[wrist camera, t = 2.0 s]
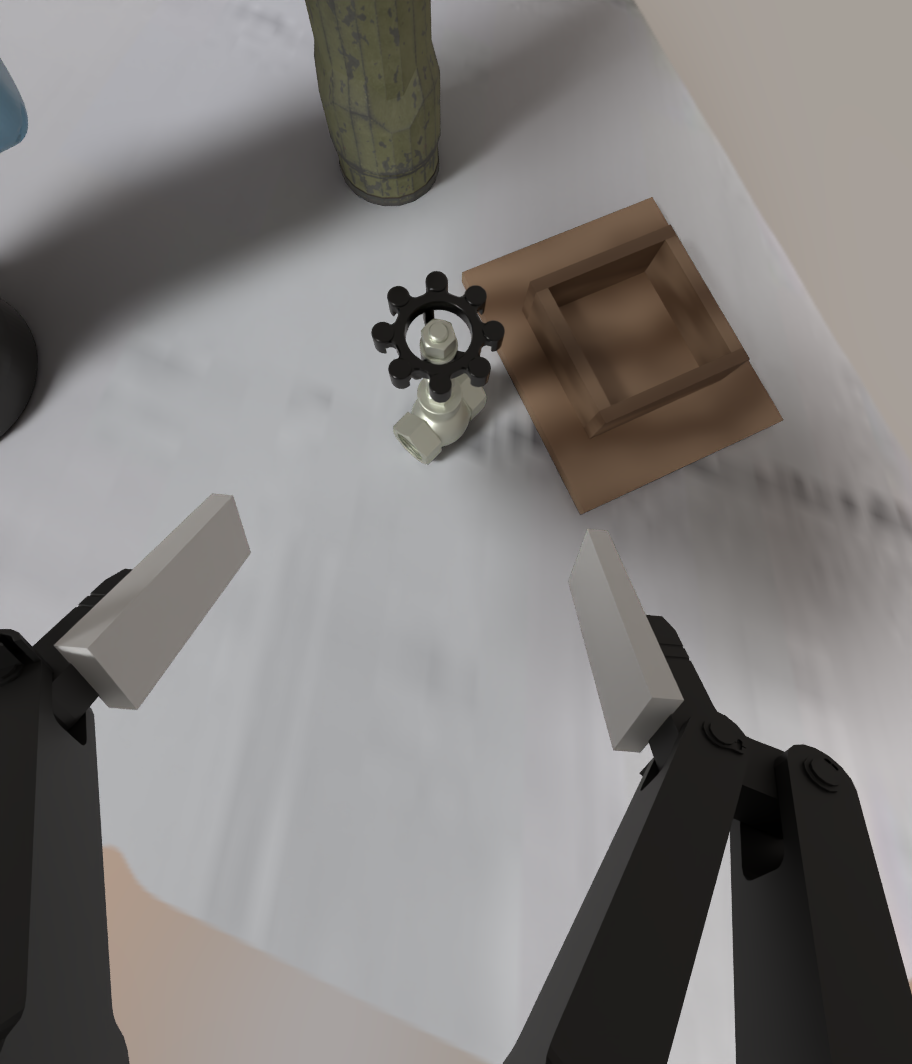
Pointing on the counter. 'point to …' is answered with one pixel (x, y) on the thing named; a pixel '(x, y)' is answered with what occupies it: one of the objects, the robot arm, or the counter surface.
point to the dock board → (620, 353)
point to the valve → (438, 364)
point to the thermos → (379, 94)
